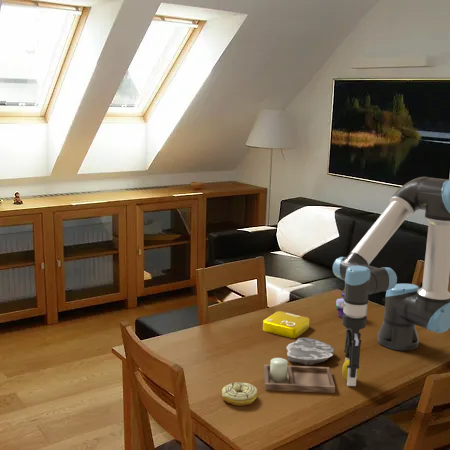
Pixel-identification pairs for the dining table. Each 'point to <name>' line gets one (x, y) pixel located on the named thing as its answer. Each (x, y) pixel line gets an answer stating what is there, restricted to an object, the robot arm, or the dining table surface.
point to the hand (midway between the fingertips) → (349, 380)
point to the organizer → (302, 379)
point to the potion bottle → (340, 305)
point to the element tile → (286, 324)
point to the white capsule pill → (278, 370)
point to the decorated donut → (239, 393)
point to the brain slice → (309, 351)
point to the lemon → (345, 370)
